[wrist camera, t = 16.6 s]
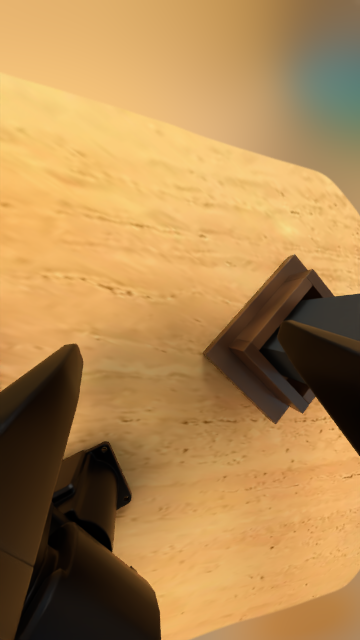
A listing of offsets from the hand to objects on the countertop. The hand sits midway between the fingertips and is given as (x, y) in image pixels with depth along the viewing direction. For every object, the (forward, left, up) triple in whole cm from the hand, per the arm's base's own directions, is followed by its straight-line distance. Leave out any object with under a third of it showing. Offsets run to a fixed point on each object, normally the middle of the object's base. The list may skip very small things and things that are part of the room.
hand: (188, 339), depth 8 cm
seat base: (-7, -13, -12) cm, 19 cm away
